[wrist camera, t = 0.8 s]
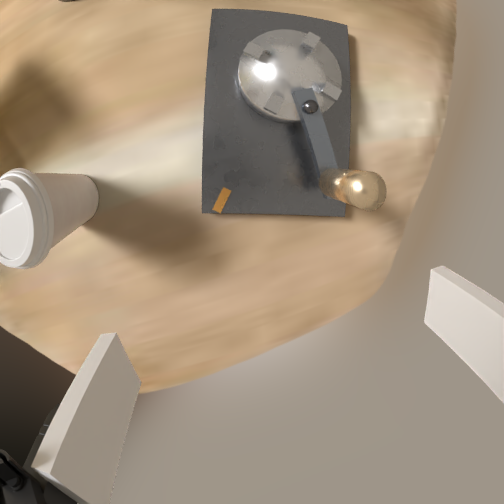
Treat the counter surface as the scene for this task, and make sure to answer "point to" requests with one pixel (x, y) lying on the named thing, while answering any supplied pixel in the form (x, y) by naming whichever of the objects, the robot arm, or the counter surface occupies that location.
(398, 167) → the counter surface
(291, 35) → the lever with amber grip
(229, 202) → the plate
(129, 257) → the counter surface
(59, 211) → the coffee cup
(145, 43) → the counter surface
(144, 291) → the counter surface
